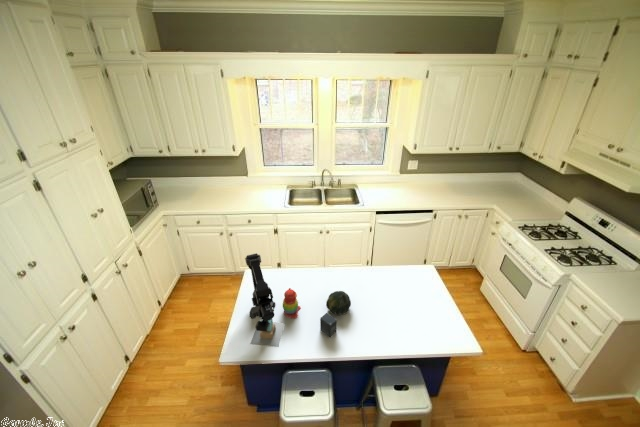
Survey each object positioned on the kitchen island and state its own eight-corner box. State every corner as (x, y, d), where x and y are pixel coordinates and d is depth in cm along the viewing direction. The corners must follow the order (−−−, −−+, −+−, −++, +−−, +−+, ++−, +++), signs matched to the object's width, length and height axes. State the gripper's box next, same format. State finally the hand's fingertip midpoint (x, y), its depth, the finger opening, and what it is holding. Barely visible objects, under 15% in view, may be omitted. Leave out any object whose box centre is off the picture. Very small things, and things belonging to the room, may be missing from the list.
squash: (320, 296, 187) (329, 293, 174) (340, 289, 194) (350, 286, 181) (328, 319, 184) (337, 317, 171) (348, 311, 190) (358, 309, 177)
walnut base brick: (263, 327, 172) (263, 322, 170) (275, 328, 171) (275, 324, 169) (260, 337, 166) (259, 333, 164) (272, 339, 165) (272, 334, 163)
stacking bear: (297, 320, 178) (295, 299, 169) (280, 317, 179) (279, 296, 171) (301, 307, 187) (300, 286, 178) (286, 304, 189) (284, 283, 180)
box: (336, 332, 170) (337, 319, 165) (330, 338, 167) (330, 325, 162) (326, 324, 175) (326, 312, 170) (320, 330, 171) (320, 317, 166)
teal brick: (264, 323, 169) (263, 315, 166) (272, 324, 168) (272, 316, 165) (261, 330, 164) (260, 323, 161) (270, 331, 164) (269, 323, 161)
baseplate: (258, 321, 177) (258, 320, 176) (285, 324, 175) (284, 323, 175) (250, 345, 163) (250, 343, 162) (278, 348, 161) (278, 346, 161)
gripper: (255, 292, 167) (258, 311, 175) (244, 318, 151) (248, 338, 158) (274, 293, 166) (276, 313, 173) (265, 320, 150) (268, 340, 157)
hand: (267, 325), depth 166 cm, fingers closed on teal brick, 5 cm apart
